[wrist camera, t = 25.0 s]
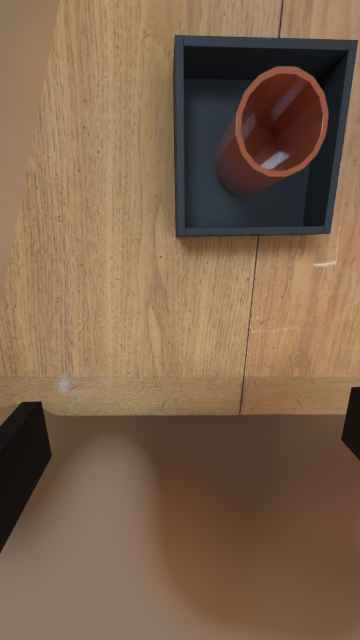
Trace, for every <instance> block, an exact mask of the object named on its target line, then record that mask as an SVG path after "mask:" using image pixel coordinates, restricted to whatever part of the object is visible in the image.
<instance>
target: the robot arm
mask: <svg viewBox="0 0 360 640" xmlns="http://www.w3.org/2000/svg"><path fill="white" fill-rule="evenodd" d="M341 440H342V441H343V442H344V443H345V445H346V446H347V447H348V448H349V449H350V450H351V451H352V452H353V453H354V455H356V457H357V458H358V459H359V460H360V387H352V388H351V393H350V398H349V403H348V408H347V413H346V418H345V423H344V428H343V433H342V438H341ZM51 456H52V454H51V449H50V444H49V439H48V433H47V428H46V424H45V418H44V413H43V408H42V402H41V401H38V402H22V403H21V404H20V405H19V406H18V407H17V408H16V409H15V410H14V412H13V413H12V414H11V415H10V416H9V417H8V418H7V419H6V421H5V422H4V423H3V424H2V425H1V426H0V553H1V551H2V549H3V547H4V545H5V543H6V541H7V539H8V538H9V536H10V534H11V532H12V530H13V528H14V526H15V524H16V523H17V520H18V519H19V517H20V515H21V513H22V511H23V509H24V507H25V506H26V504H27V502H28V500H29V498H30V496H31V494H32V492H33V490H34V488H35V487H36V485H37V483H38V481H39V479H40V477H41V475H42V474H43V472H44V470H45V468H46V466H47V464H48V462H49V460H50V459H51Z"/></svg>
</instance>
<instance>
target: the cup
mask: <svg viewBox="0 0 360 640" xmlns="http://www.w3.org/2000/svg"><path fill="white" fill-rule="evenodd" d="M328 116H329V113H328V108H327V103H326V98H325V94H324V92H323V90H322V89H321V87H320V86H319V84H318V83H317V81H316V80H315V78H314V77H313V76H312V75H310V74H308V73H307V72H305V71H303V70H302V69H300V68H298V67H290V66H278V67H275V68H273V69H270V70H268V71H266V72H264V73H262V74H260V75H259V76H258V77H257V78H256V79H255V80H254V81H253V82H252V84H251V85H250V86H249V87H248V88H247V89H246V90H245V92H244V94H243V95H242V97H241V99H240V101H239V103H238V105H237V107H236V109H235V111H234V113H233V115H232V116H231V118H230V120H229V122H228V124H227V126H226V128H225V130H224V132H223V134H222V135H221V138H220V140H219V142H218V145H217V147H216V151H215V156H214V167H215V172H216V175H217V178H218V180H219V181H220V183H221V184H222V186H223V187H224V188H225V189H226V190H228V191H229V192H231V193H232V194H235V195H238V196H251V195H255V194H257V193H259V192H261V191H263V190H265V189H267V188H269V187H271V186H273V185H275V184H276V183H278V182H280V181H282V180H284V179H286V178H288V177H289V176H291V175H293V174H295V173H297V172H299V171H300V170H302V169H304V168H305V167H306V166H307V164H308V163H309V162H310V161H311V160H312V159H313V158H314V157H315V156H316V155H317V153H318V151H319V149H320V147H321V145H322V143H323V141H324V139H325V137H326V132H327V124H328Z"/></svg>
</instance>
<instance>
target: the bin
mask: <svg viewBox="0 0 360 640" xmlns="http://www.w3.org/2000/svg"><path fill="white" fill-rule="evenodd" d="M357 44H358V40H333V39H296V38H260V37H223V36H186V35H184V36H183V35H175V43H174V63H173V107H174V164H175V220H176V237H200V236H276V235H314V234H329V233H330V231H331V224H332V217H333V210H334V203H335V196H336V189H337V183H338V176H339V169H340V162H341V155H342V148H343V141H344V134H345V127H346V120H347V113H348V106H349V100H350V93H351V86H352V79H353V72H354V65H355V58H356V51H357ZM278 66H290V67H298V68H300V69H302V70H303V71H305V72H307V73H308V74H310V75H312V76H313V77H314V78H315V80H316V81H317V83H318V84H319V86H320V87H321V89H322V90H323V92H324V94H325V98H326V103H327V108H328V113H329V116H328V124H327V132H326V137H325V139H324V141H323V143H322V145H321V147H320V149H319V151H318V153H317V155H316V156H315V157H314V158H313V159H312V160H311V161H310V162H309V163H308V164H307V166H306V167H305V168H304V169H302V170H300V171H299V172H297V173H295V174H293V175H291V176H289V177H288V178H286V179H284V180H282V181H280V182H278V183H276V184H275V185H273V186H271V187H269V188H267V189H265V190H263V191H261V192H259V193H257V194H255V195H251V196H238V195H235V194H232V193H231V192H229V191H228V190H226V189H225V188H224V187H223V186H222V184H221V183H220V181H219V180H218V178H217V175H216V172H215V167H214V156H215V151H216V147H217V145H218V142H219V140H220V138H221V135H222V134H223V132H224V130H225V128H226V126H227V124H228V122H229V120H230V118H231V116H232V115H233V113H234V111H235V109H236V107H237V105H238V103H239V101H240V99H241V97H242V95H243V94H244V92H245V90H246V89H247V88H248V87H249V86H250V85H251V84H252V82H253V81H254V80H255V79H256V78H257V77H258V76H259V75H260V74H262V73H264V72H266V71H268V70H270V69H273V68H275V67H278Z"/></svg>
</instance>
